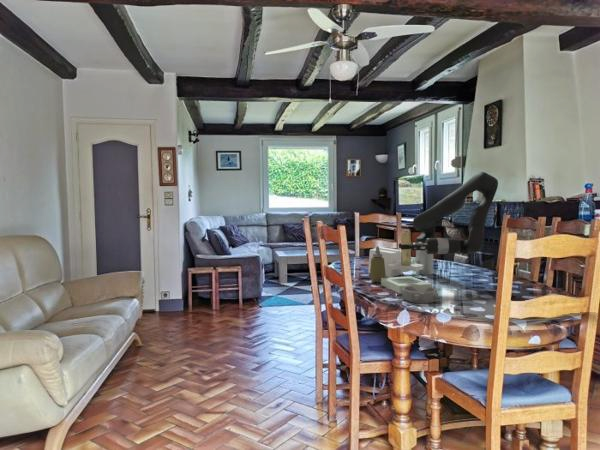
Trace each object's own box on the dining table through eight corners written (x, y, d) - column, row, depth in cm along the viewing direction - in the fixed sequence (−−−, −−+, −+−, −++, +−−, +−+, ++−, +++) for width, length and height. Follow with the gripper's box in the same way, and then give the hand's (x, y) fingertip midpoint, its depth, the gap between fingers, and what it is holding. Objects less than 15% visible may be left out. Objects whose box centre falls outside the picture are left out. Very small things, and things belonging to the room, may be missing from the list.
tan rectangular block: (399, 264, 201) (399, 231, 200) (408, 264, 202) (408, 230, 201) (403, 266, 197) (403, 231, 196) (412, 265, 198) (412, 231, 197)
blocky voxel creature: (408, 285, 215) (361, 275, 233) (429, 278, 234) (384, 269, 252) (410, 256, 214) (363, 248, 232) (431, 251, 233) (386, 244, 251)
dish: (399, 296, 184) (399, 285, 184) (431, 296, 184) (431, 285, 183) (406, 305, 170) (406, 292, 169) (441, 304, 169) (442, 292, 169)
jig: (381, 285, 208) (381, 277, 208) (411, 283, 212) (411, 275, 212) (399, 293, 189) (399, 285, 189) (431, 291, 192) (432, 283, 192)
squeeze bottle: (388, 281, 218) (388, 246, 217) (380, 283, 212) (380, 247, 211) (375, 279, 223) (375, 245, 222) (366, 281, 217) (366, 246, 216)
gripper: (432, 236, 205) (397, 237, 206) (441, 239, 191) (403, 239, 192) (432, 252, 206) (397, 252, 206) (441, 256, 192) (403, 256, 192)
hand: (400, 246), depth 199 cm, fingers closed on tan rectangular block, 4 cm apart
